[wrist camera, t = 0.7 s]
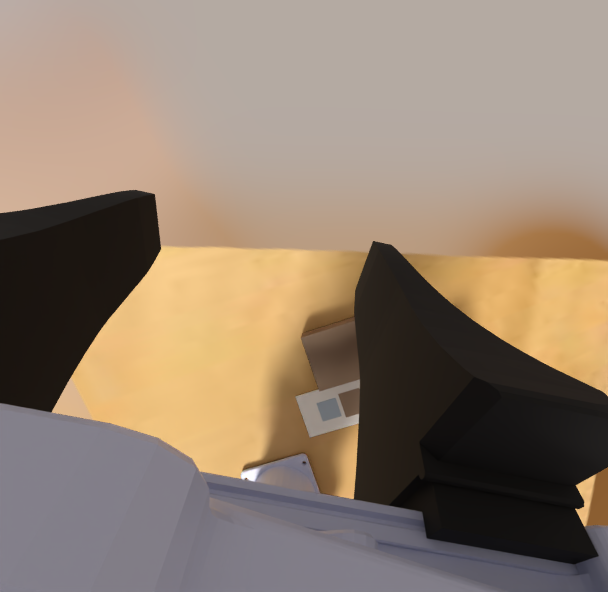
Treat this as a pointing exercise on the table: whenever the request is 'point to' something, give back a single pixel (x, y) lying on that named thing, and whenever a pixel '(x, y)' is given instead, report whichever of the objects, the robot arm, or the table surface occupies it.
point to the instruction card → (330, 408)
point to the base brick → (333, 353)
